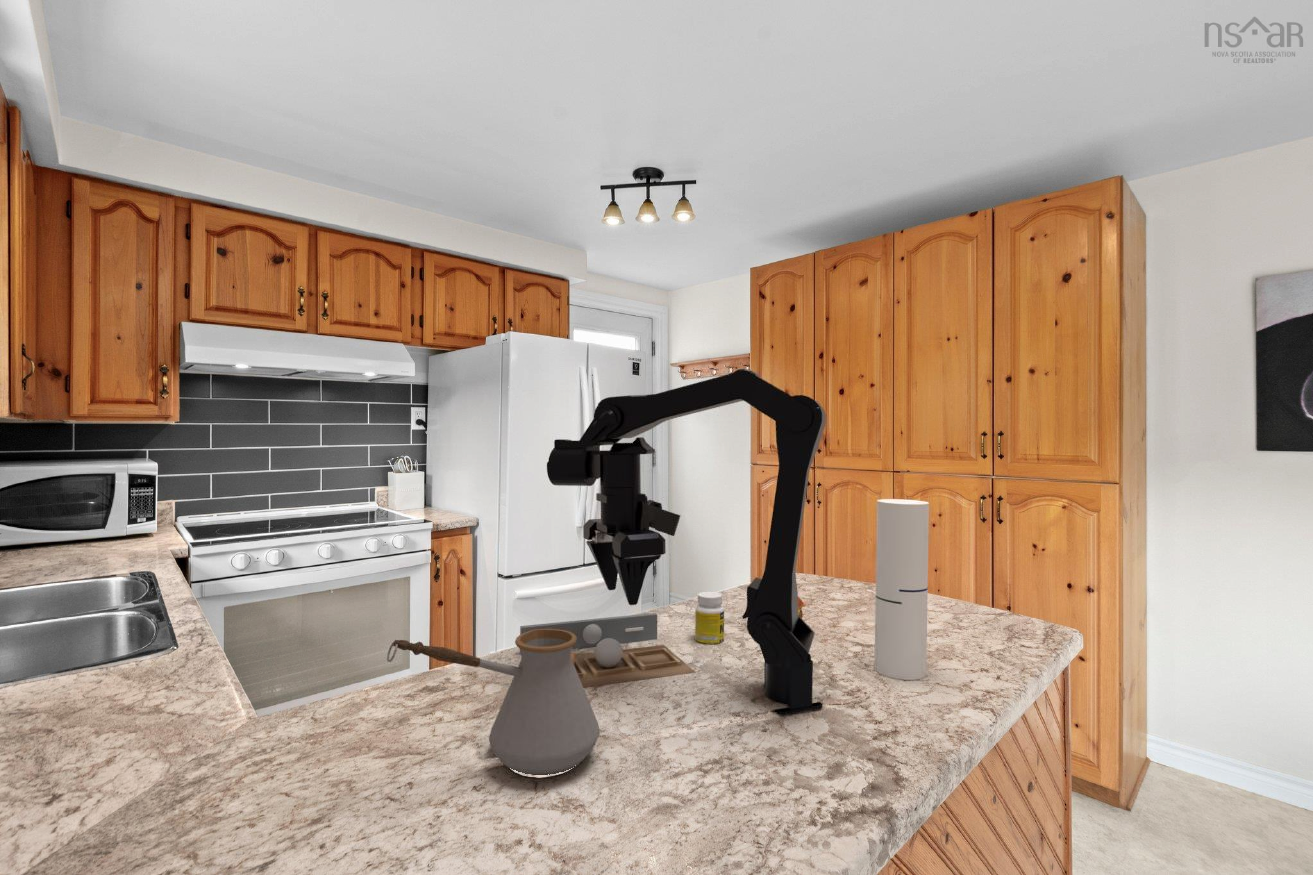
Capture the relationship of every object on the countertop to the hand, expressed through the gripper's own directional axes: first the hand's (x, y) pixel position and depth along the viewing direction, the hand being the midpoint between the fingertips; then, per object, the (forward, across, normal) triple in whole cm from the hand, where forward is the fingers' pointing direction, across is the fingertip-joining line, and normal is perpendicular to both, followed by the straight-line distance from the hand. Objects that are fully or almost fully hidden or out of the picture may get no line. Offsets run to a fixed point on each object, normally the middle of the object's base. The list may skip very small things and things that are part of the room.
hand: (621, 596), depth 89 cm
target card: (+11, +12, +1) cm, 16 cm away
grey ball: (+10, +2, +2) cm, 11 cm away
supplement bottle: (+12, +8, -18) cm, 23 cm away
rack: (+11, +2, +2) cm, 12 cm away
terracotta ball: (+10, +2, +8) cm, 13 cm away
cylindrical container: (+13, -12, -39) cm, 43 cm away
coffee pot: (+12, -19, +20) cm, 30 cm away
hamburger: (+12, +12, -34) cm, 38 cm away
